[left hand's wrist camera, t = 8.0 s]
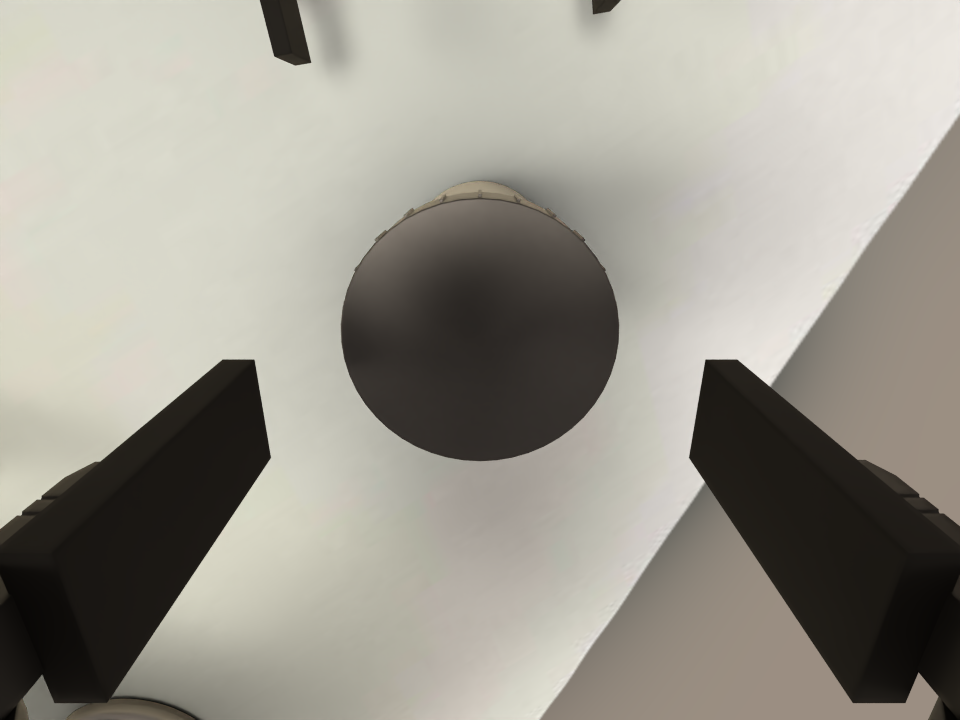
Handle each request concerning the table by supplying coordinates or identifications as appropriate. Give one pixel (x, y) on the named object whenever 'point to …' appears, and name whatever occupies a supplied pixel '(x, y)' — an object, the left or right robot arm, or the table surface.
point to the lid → (480, 327)
